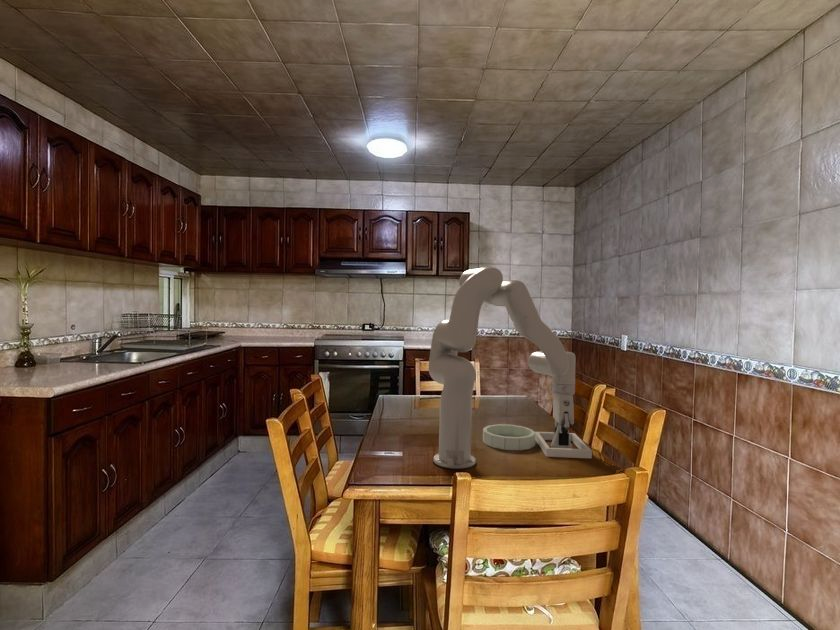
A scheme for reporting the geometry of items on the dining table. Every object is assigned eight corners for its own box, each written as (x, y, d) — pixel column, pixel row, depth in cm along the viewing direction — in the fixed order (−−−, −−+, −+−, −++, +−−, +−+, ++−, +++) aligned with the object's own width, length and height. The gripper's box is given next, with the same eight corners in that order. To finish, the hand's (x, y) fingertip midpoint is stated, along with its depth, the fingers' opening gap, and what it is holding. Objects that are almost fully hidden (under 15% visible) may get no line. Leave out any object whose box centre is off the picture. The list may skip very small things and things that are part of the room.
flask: (573, 452, 152) (574, 421, 151) (550, 450, 153) (551, 420, 153) (571, 445, 159) (572, 416, 159) (549, 443, 160) (550, 415, 160)
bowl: (538, 451, 152) (539, 439, 152) (485, 448, 153) (485, 436, 153) (529, 436, 169) (529, 425, 169) (481, 434, 170) (481, 423, 170)
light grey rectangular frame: (591, 458, 146) (591, 450, 145) (546, 456, 146) (546, 448, 146) (574, 440, 165) (574, 433, 165) (534, 438, 166) (534, 431, 166)
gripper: (581, 393, 147) (579, 450, 147) (567, 384, 164) (566, 436, 164) (557, 392, 147) (555, 449, 148) (546, 383, 164) (544, 435, 165)
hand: (561, 442), depth 156 cm, fingers closed on flask, 4 cm apart
